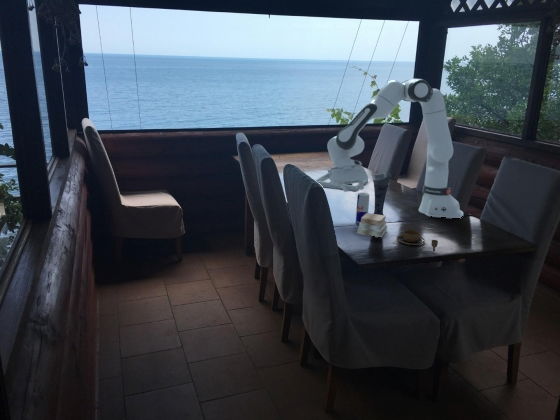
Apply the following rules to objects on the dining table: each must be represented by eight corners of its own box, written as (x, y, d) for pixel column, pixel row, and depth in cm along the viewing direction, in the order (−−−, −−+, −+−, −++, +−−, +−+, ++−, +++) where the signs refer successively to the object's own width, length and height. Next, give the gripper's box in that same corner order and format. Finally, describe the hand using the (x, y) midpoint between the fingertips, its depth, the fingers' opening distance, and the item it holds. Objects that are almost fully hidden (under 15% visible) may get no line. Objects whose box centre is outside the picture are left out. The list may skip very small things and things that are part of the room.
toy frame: (368, 181, 319) (368, 177, 319) (355, 191, 296) (356, 186, 295) (328, 176, 331) (328, 172, 330) (313, 185, 307) (313, 180, 306)
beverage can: (359, 220, 241) (361, 191, 236) (369, 223, 237) (371, 193, 233) (353, 223, 237) (355, 193, 232) (363, 226, 233) (365, 195, 229)
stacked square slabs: (386, 230, 228) (388, 215, 225) (381, 237, 218) (382, 222, 216) (363, 226, 232) (364, 211, 230) (357, 233, 222) (358, 218, 220)
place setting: (427, 238, 221) (429, 226, 219) (438, 255, 201) (440, 242, 200) (388, 237, 221) (389, 224, 220) (396, 253, 202) (397, 240, 201)
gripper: (329, 164, 237) (339, 188, 231) (363, 161, 246) (374, 184, 241) (323, 171, 242) (333, 195, 237) (357, 168, 251) (367, 191, 246)
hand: (354, 190), depth 239 cm, fingers open, 8 cm apart
